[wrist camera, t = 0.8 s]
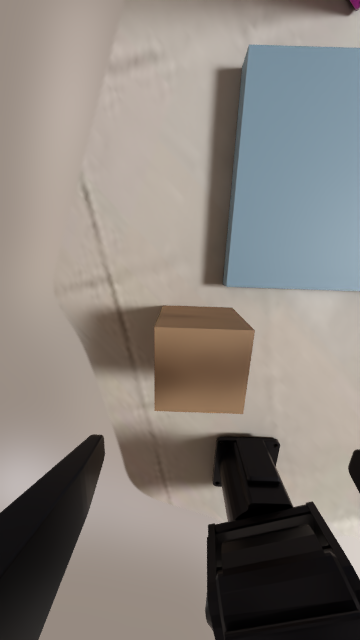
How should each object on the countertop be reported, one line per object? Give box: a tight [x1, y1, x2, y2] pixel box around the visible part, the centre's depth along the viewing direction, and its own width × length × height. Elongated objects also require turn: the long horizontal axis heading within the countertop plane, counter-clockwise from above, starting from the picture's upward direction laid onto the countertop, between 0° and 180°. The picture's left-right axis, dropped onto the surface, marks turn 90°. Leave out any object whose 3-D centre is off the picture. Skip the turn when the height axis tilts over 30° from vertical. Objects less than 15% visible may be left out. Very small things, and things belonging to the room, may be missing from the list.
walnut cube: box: [154, 306, 255, 414], centre depth 16 cm, size 6×6×6 cm
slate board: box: [223, 45, 360, 291], centre depth 15 cm, size 14×14×2 cm
